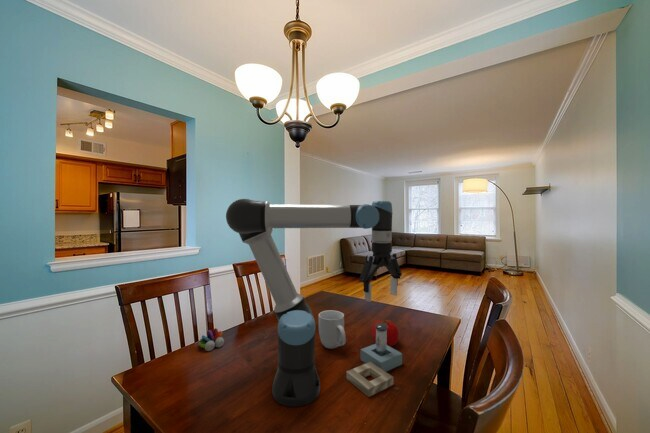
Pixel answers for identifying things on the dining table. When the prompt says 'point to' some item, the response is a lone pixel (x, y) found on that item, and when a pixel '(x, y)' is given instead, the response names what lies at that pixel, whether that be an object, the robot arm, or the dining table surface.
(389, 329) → the tomato
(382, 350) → the pin
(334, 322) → the mug
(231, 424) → the dining table surface
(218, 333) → the multicoloured knobbly toy
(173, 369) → the dining table surface
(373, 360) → the socket
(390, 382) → the beige square frame
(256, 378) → the dining table surface
